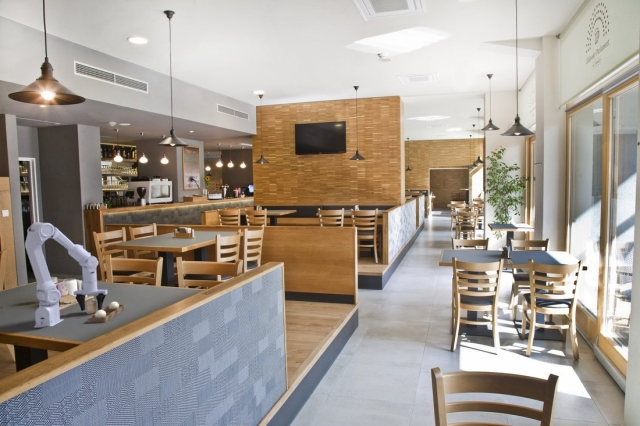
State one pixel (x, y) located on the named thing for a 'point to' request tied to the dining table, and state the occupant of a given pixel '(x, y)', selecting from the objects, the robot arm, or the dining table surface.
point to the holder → (107, 314)
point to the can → (71, 285)
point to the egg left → (100, 313)
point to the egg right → (113, 305)
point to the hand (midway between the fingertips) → (91, 310)
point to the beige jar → (91, 306)
